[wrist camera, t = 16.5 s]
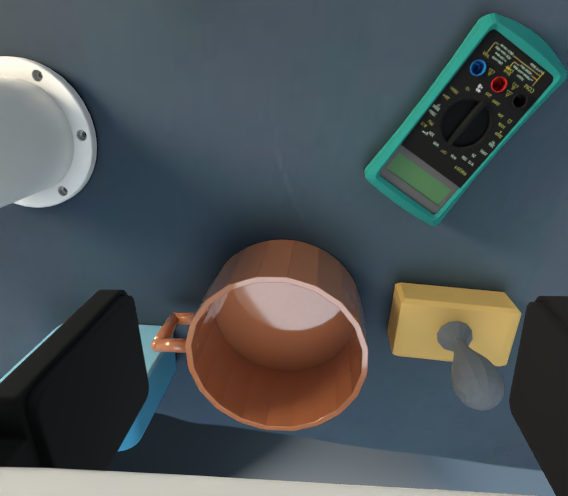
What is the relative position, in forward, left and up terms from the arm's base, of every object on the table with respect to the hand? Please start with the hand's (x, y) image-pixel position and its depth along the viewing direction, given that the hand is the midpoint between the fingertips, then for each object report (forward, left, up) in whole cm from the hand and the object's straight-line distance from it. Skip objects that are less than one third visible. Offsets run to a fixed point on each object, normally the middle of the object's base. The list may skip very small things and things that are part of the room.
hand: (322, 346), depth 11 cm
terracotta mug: (-6, -15, -28) cm, 33 cm away
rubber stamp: (+11, -15, -28) cm, 34 cm away
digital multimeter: (+10, +2, -28) cm, 30 cm away
